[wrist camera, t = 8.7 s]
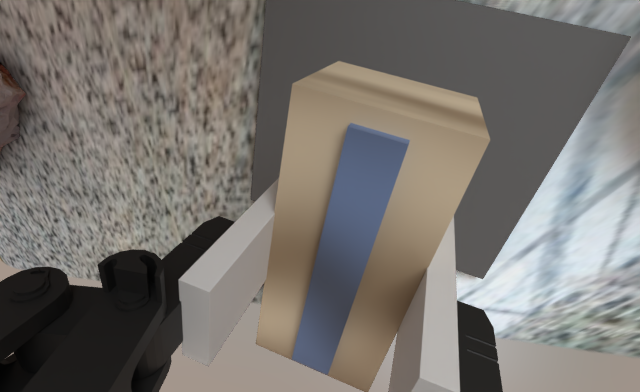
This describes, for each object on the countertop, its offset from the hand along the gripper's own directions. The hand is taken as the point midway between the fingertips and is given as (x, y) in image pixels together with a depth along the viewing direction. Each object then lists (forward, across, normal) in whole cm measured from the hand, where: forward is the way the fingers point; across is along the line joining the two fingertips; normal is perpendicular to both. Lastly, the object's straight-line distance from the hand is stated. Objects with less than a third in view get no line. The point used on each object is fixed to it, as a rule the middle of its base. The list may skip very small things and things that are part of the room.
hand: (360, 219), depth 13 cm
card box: (+1, 0, 0) cm, 1 cm away
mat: (+8, 0, 0) cm, 8 cm away
